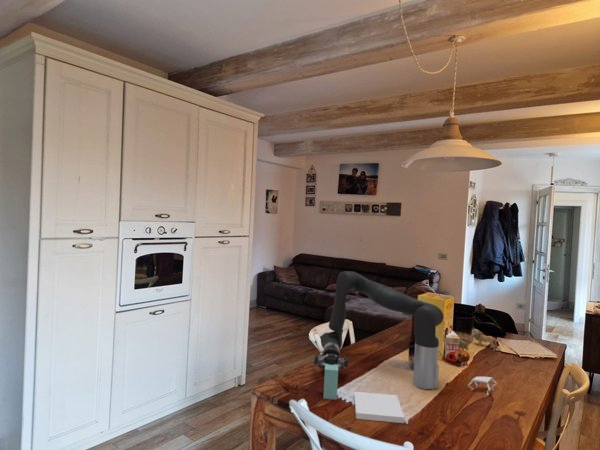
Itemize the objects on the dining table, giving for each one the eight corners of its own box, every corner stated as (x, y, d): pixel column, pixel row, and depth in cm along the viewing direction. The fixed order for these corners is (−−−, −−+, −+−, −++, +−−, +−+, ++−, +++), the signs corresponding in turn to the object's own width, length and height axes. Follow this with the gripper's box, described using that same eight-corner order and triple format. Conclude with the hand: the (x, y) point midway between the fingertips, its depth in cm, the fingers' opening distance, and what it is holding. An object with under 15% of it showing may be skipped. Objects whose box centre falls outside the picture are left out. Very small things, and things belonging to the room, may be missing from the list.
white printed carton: (435, 347, 209) (436, 324, 208) (447, 348, 208) (448, 325, 207) (445, 361, 187) (446, 336, 187) (458, 363, 187) (460, 337, 186)
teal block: (336, 393, 148) (338, 365, 147) (336, 399, 143) (338, 370, 143) (323, 392, 148) (325, 364, 148) (323, 398, 143) (324, 369, 143)
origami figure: (485, 398, 150) (486, 385, 150) (466, 389, 157) (467, 377, 157) (502, 391, 156) (503, 380, 156) (483, 383, 164) (484, 372, 163)
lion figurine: (469, 345, 215) (470, 329, 214) (472, 342, 219) (473, 327, 219) (498, 351, 205) (499, 335, 205) (500, 349, 210) (501, 333, 209)
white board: (396, 400, 144) (396, 395, 144) (404, 423, 128) (404, 417, 128) (353, 396, 146) (354, 391, 146) (356, 418, 130) (356, 413, 130)
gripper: (316, 343, 173) (314, 356, 157) (347, 346, 172) (349, 359, 156) (315, 360, 173) (313, 374, 157) (346, 362, 172) (348, 377, 156)
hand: (331, 367), depth 156 cm, fingers open, 8 cm apart
